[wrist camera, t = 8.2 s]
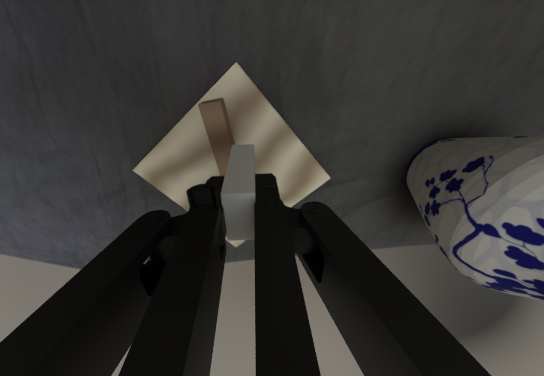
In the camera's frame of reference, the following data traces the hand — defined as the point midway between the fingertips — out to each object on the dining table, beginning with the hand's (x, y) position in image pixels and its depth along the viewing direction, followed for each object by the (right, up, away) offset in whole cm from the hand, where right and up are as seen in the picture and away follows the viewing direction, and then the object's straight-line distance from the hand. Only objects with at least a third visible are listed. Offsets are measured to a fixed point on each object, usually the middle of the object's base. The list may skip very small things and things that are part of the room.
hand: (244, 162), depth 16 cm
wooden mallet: (-4, 0, +19) cm, 19 cm away
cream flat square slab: (-4, +1, +20) cm, 20 cm away
